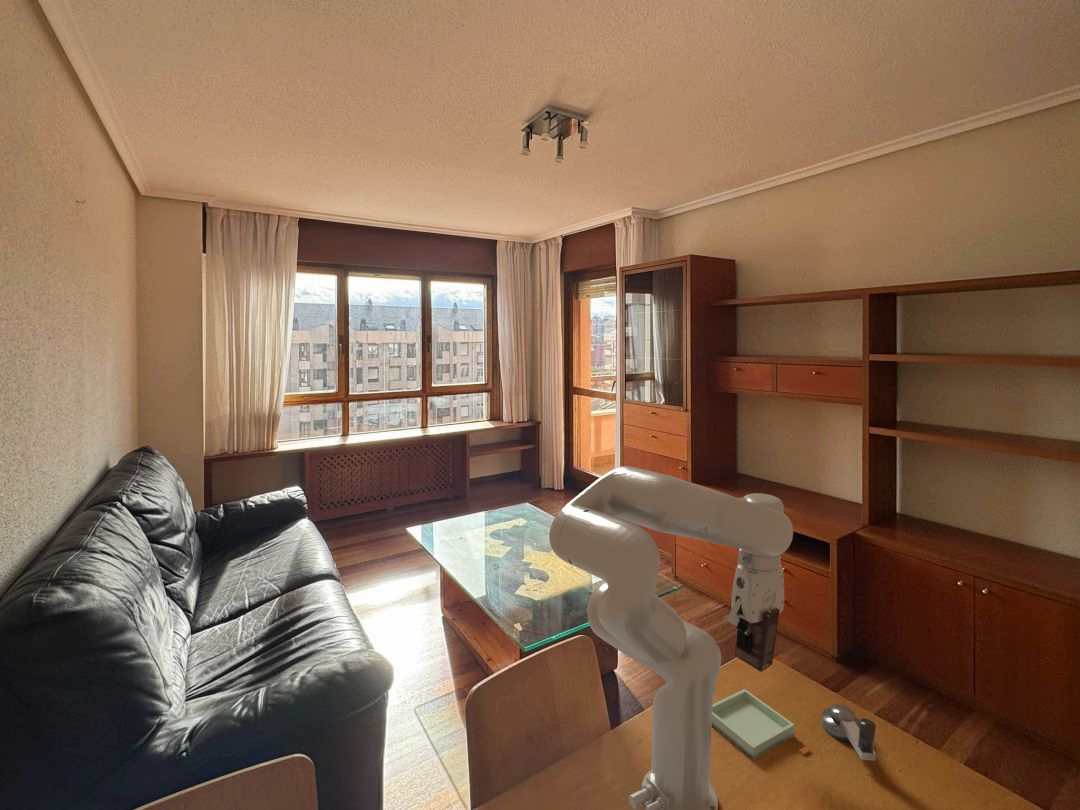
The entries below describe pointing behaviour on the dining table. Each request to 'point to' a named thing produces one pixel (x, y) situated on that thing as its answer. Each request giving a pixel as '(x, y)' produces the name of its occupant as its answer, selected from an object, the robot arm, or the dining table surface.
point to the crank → (856, 731)
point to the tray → (750, 723)
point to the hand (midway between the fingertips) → (753, 645)
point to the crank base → (831, 729)
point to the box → (761, 641)
